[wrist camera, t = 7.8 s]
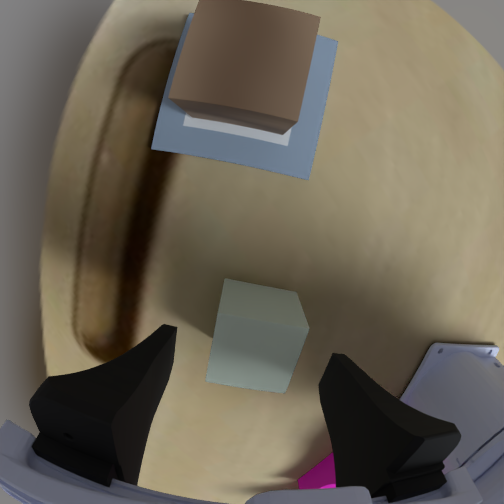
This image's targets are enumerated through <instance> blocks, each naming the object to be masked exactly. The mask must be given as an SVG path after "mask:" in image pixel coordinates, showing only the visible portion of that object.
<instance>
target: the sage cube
mask: <svg viewBox="0 0 504 504" xmlns="http://www.w3.org/2000/svg"><path fill="white" fill-rule="evenodd" d="M308 331H309V326H308V323H307V320H306V317H305V314H304V311H303V309H302V306H301V303H300V300H299V298H298V295H297V292H294V291H289V290H283V289H278V288H273V287H268V286H262V285H257V284H252V283H247V282H242V281H237V280H232V279H227V278H225V280H224V284H223V289H222V294H221V299H220V304H219V309H218V314H217V320H216V325H215V330H214V336H213V341H212V346H211V352H210V357H209V363H208V369H207V374H206V380H205V381H206V382H211V383H216V384H222V385H227V386H233V387H240V388H246V389H253V390H261V391H268V392H277V393H285V392H286V390H287V387H288V385H289V382H290V380H291V377H292V374H293V372H294V369H295V367H296V364H297V361H298V359H299V356H300V353H301V351H302V348H303V345H304V342H305V340H306V337H307V334H308Z"/></svg>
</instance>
